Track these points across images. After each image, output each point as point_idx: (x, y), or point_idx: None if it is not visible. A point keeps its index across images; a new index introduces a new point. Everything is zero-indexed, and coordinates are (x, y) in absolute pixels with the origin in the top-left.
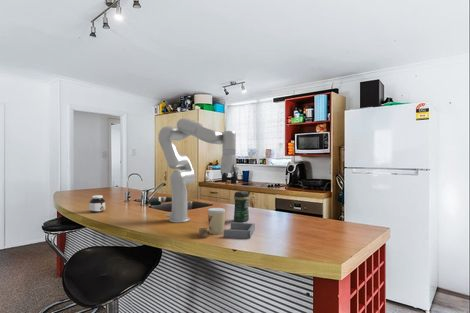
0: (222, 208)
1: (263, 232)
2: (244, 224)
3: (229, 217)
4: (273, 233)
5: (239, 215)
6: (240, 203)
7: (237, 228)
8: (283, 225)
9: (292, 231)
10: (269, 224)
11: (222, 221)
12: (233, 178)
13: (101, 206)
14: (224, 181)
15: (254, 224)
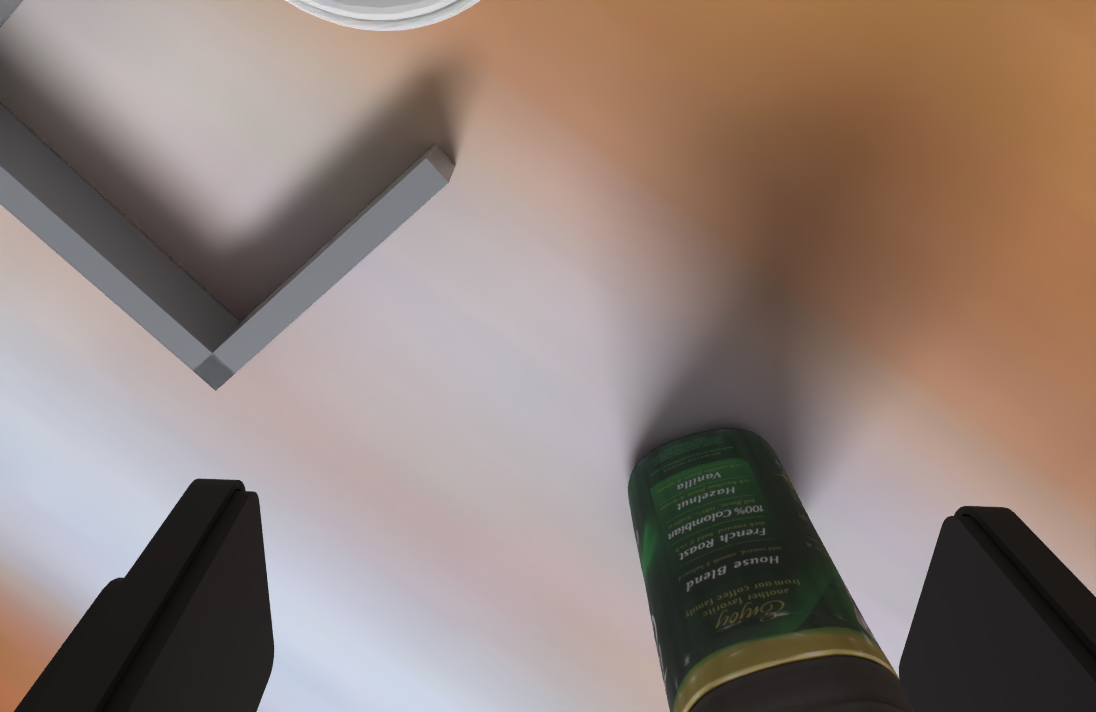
0: (389, 4)
1: (105, 369)
2: (286, 284)
3: (948, 497)
4: (20, 424)
5: (673, 488)
6: (706, 617)
7: (366, 208)
8: None
9: (10, 609)
10: (371, 621)
11: None
12: (23, 705)
13: None
14: (938, 613)
15: (200, 372)
